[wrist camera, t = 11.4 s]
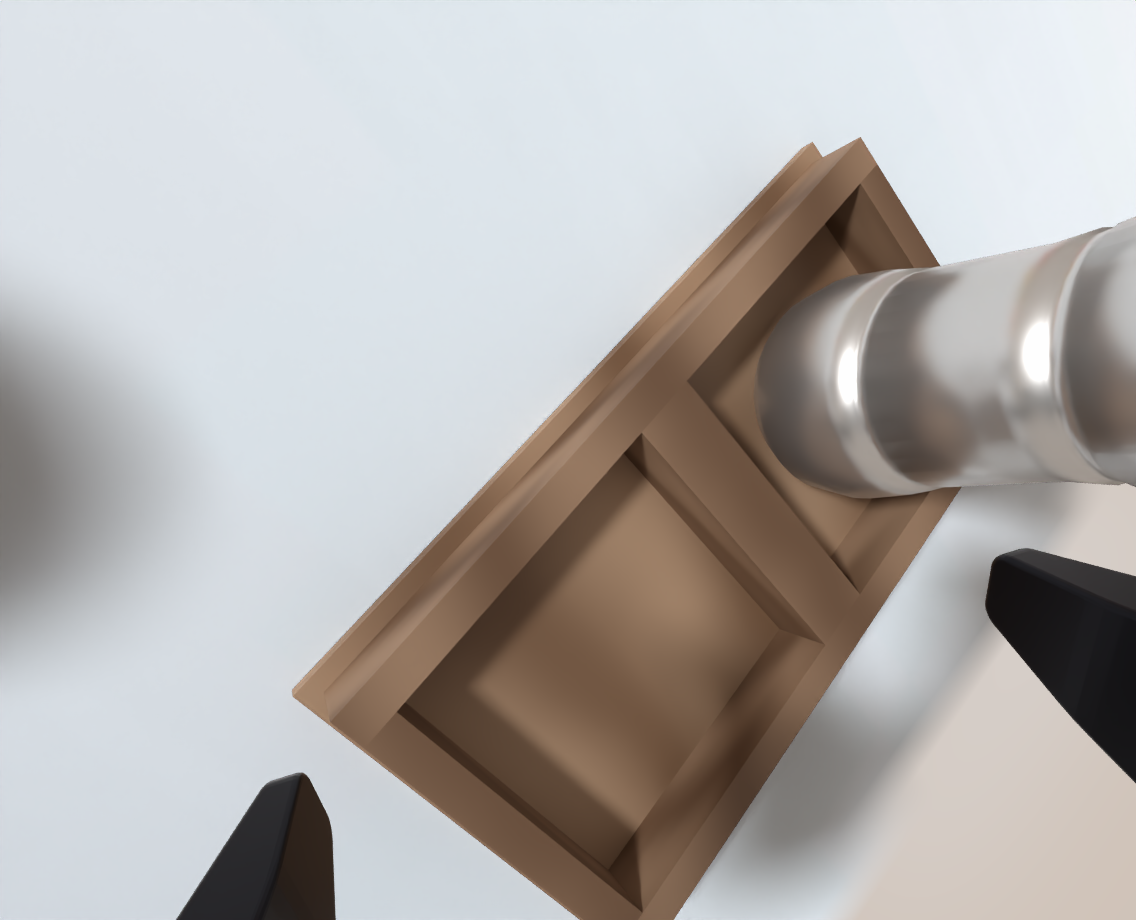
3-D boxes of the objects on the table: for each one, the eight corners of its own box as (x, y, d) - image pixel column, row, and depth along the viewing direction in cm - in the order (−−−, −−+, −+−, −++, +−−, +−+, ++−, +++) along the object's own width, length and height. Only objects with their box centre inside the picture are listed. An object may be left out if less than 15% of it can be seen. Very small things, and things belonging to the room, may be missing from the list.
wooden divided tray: (600, 930, 20) (643, 992, 18) (292, 689, 16) (295, 727, 14) (967, 402, 26) (1033, 397, 24) (801, 148, 23) (860, 113, 21)
